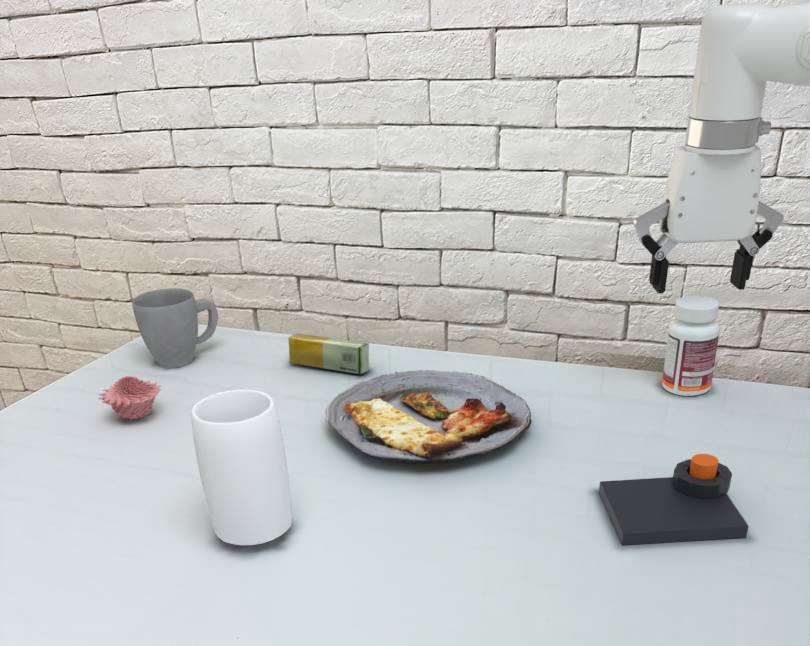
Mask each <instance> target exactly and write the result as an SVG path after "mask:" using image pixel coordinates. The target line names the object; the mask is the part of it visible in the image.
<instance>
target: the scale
mask: <svg viewBox="0 0 810 646" xmlns="http://www.w3.org/2000/svg"><path fill="white" fill-rule="evenodd" d="M691 459H692V458H689V459H685V460H682V461H680V462H678V463H677V464H676V465H675V467H674V469H673V475H672V476H671V477H670V476H669V477H652V478H650V477H649V478H635V479H634V478H633V479H619V480H603V481H599V487H598V495H599V497H600V499H601V501H602V503H603V506H604V508H605V510H606V512H607V514H608V516H609V519H610V521H611V523H612V526H613V528H614V530H615V533H616V534H617V537H618V539H619V541H620V543H621V546H632V545H633V546H634V545H648V544H665V543H667V544H668V543H681V542H683V543H685V542H698V541H699V542H701V541H715V540H716V541H717V540H733V539H746V538H747V535H748V531H749V524H748V523H747V521H746V519H745V518H744V517H743V515H742V514H741V513H740V511H739V509H738V508H737V507H736V505H735V504H734V502H733V501H732V500H731V498H730V496H729V495H728V492H729V490H730V488H731V483H732V478H733V473H732V471H731V470H730V469H729V467H728V466H727V465H724V464H723V463H720V462H718V467H717V473H716V477H715V478H714V479H705V480H704V479H699V478H695V477H693V476H691V475H690V474H689V472H690V465H691Z"/></svg>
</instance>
